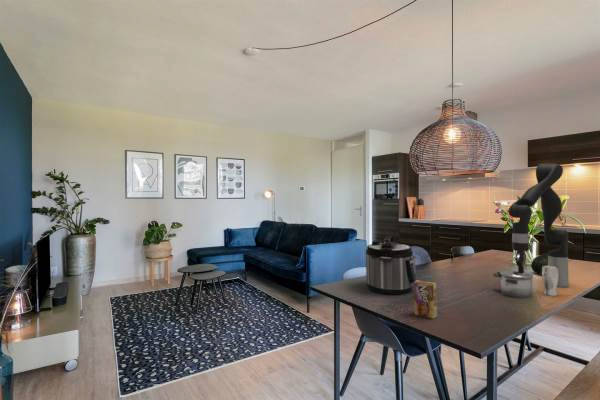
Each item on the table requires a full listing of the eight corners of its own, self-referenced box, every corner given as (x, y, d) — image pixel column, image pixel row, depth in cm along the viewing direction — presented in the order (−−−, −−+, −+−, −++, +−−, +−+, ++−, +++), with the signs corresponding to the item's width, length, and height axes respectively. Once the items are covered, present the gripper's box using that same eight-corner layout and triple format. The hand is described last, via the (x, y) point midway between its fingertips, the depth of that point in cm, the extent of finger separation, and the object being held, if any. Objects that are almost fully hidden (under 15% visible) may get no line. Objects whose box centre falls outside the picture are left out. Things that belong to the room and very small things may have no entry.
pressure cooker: (392, 300, 163) (391, 240, 163) (355, 287, 186) (354, 235, 186) (426, 290, 179) (425, 235, 179) (388, 280, 203) (387, 232, 203)
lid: (502, 270, 180) (502, 267, 180) (535, 275, 168) (535, 272, 168) (494, 275, 170) (494, 271, 170) (529, 280, 158) (529, 277, 158)
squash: (530, 267, 206) (547, 251, 203) (523, 264, 220) (540, 249, 217) (550, 283, 202) (568, 267, 198) (542, 278, 216) (559, 263, 212)
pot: (500, 286, 183) (499, 269, 183) (535, 292, 170) (535, 274, 170) (489, 293, 170) (489, 275, 170) (527, 300, 157) (527, 280, 157)
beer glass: (552, 297, 162) (551, 268, 162) (539, 293, 169) (538, 266, 169) (562, 295, 164) (561, 267, 164) (548, 292, 171) (548, 265, 171)
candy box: (437, 316, 139) (436, 282, 139) (434, 319, 136) (433, 284, 136) (418, 311, 145) (417, 279, 145) (414, 314, 142) (413, 281, 142)
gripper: (525, 243, 160) (526, 276, 160) (531, 240, 169) (532, 272, 169) (508, 242, 165) (509, 274, 165) (515, 239, 174) (516, 270, 174)
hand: (521, 273), depth 167 cm, fingers closed
